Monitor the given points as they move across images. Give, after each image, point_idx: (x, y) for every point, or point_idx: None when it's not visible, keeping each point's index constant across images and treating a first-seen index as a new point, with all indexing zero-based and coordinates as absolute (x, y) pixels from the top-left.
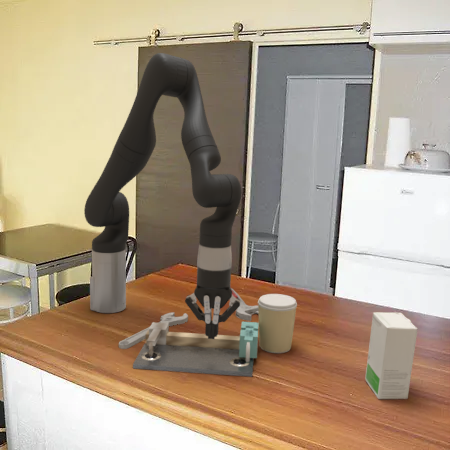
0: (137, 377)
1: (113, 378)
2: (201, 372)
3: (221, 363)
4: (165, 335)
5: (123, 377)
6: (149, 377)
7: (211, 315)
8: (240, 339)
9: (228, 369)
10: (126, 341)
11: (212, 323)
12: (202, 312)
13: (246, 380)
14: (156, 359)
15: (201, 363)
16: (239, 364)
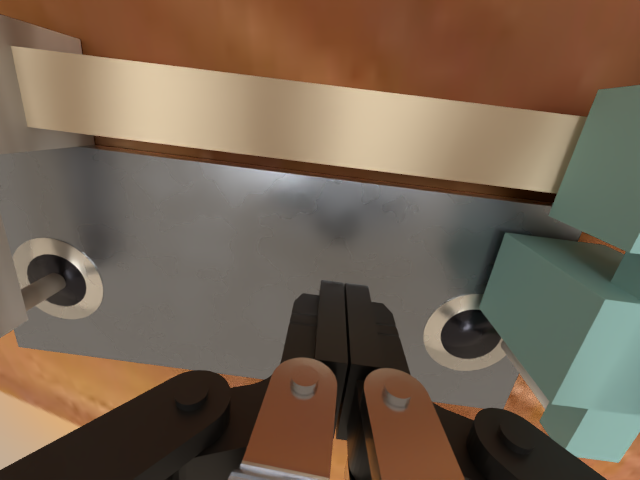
0: (81, 389)
1: (8, 393)
2: None
3: None
4: (22, 151)
5: (36, 388)
6: (120, 390)
7: (333, 420)
8: (539, 381)
9: None
10: None
11: (344, 425)
12: (194, 453)
13: (464, 414)
14: (94, 311)
15: None
16: (463, 358)
